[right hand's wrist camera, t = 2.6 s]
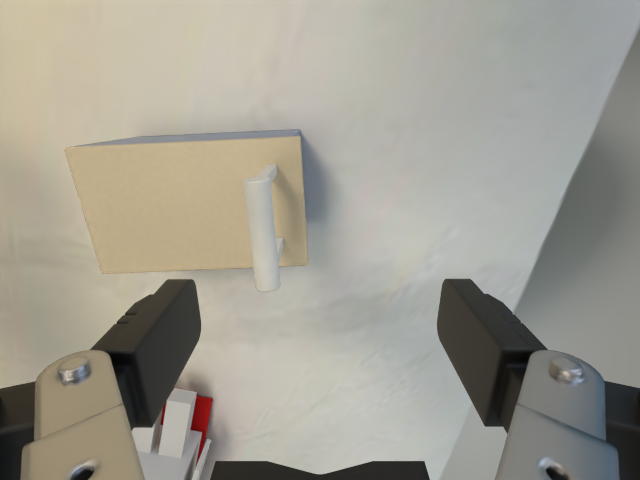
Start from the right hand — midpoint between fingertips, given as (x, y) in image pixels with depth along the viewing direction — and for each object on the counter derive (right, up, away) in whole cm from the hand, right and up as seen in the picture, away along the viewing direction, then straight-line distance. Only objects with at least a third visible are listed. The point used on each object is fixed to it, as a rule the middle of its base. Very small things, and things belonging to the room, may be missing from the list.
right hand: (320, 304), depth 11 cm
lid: (-9, +5, +15) cm, 18 cm away
